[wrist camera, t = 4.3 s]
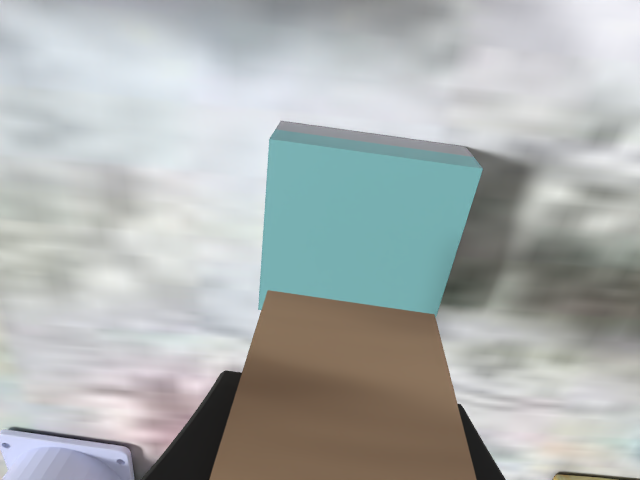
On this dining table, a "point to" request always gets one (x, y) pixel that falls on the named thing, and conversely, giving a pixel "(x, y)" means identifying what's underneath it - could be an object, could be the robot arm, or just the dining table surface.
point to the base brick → (363, 216)
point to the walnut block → (343, 397)
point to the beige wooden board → (577, 478)
